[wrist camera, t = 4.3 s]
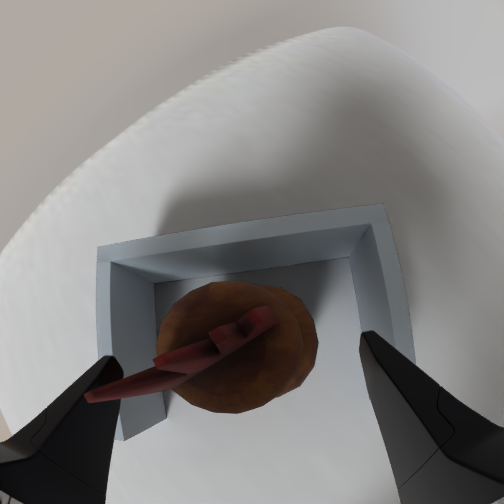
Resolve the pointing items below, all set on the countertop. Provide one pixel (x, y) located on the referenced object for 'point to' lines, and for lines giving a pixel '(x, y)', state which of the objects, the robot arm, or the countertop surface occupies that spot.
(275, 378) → the wooden figurine
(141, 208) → the countertop surface
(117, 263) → the cubby
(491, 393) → the countertop surface
